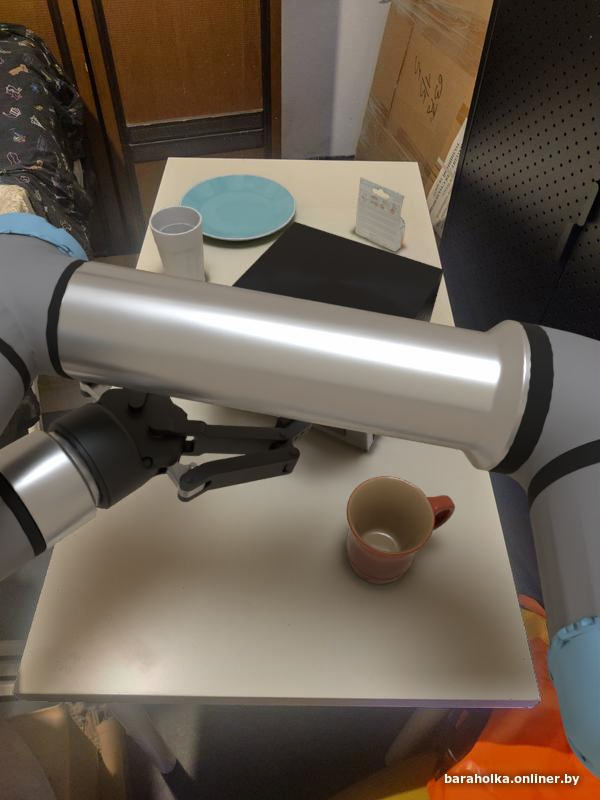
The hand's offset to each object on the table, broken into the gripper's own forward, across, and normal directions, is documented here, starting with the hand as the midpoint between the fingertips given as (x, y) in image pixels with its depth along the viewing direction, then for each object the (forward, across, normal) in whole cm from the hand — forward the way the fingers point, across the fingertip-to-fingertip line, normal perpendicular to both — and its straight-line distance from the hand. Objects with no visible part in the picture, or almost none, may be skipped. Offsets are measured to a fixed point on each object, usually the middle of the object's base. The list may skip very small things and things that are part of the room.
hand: (275, 348), depth 52 cm
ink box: (+52, -18, -19) cm, 58 cm away
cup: (+20, -33, -26) cm, 47 cm away
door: (+10, 0, -22) cm, 24 cm away
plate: (+39, -42, -25) cm, 63 cm away
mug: (+4, +20, -19) cm, 28 cm away
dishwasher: (+21, -3, -20) cm, 30 cm away
